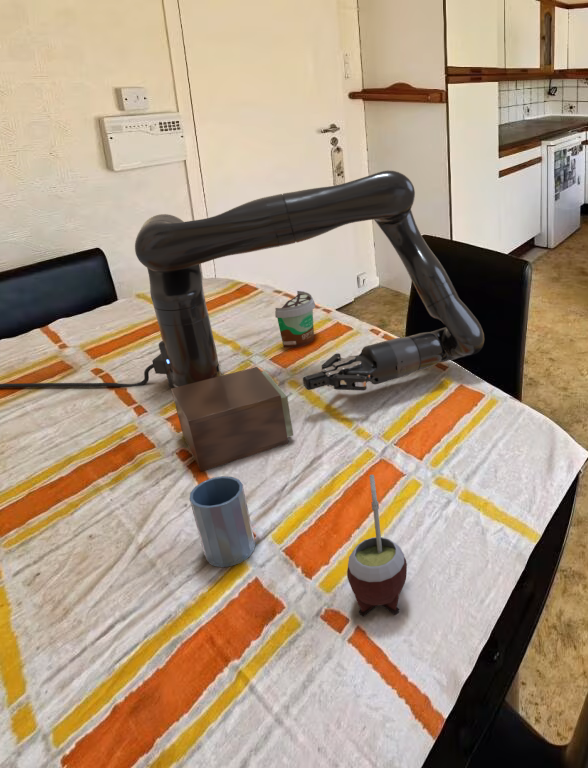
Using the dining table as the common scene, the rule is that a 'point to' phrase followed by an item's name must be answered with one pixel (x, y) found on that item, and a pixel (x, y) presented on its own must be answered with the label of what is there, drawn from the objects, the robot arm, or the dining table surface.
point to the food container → (296, 320)
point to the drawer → (284, 405)
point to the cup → (223, 521)
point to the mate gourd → (377, 569)
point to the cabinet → (230, 417)
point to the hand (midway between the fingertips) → (304, 383)
